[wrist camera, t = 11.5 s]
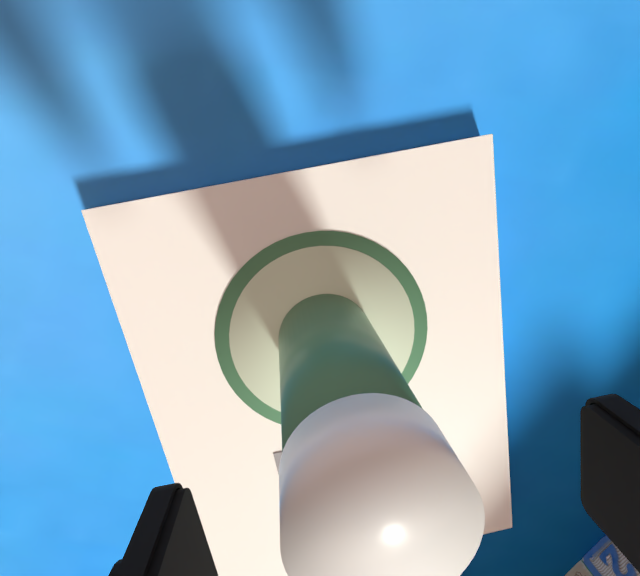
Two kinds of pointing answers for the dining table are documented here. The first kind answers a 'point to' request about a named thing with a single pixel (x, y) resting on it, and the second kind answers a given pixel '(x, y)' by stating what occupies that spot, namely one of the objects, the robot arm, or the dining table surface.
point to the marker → (363, 458)
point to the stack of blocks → (603, 562)
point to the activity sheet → (289, 289)
